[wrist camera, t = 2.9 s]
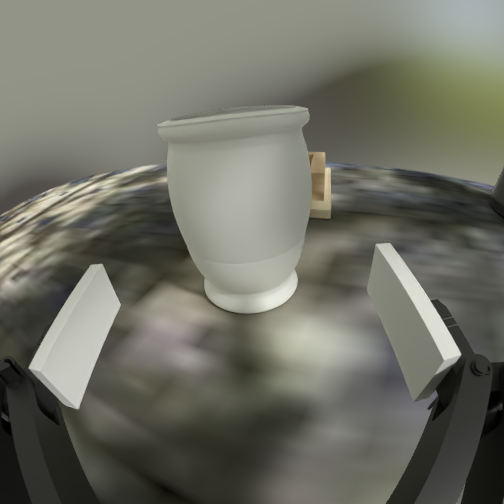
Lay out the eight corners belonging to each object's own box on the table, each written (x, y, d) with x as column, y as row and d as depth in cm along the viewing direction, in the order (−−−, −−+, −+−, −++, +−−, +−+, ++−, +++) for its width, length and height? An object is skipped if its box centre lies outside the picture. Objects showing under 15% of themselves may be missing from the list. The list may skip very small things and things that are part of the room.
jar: (171, 299, 24) (125, 130, 16) (233, 244, 31) (216, 108, 23) (277, 343, 19) (264, 115, 11) (324, 266, 26) (328, 105, 18)
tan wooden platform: (330, 173, 51) (329, 112, 44) (330, 218, 35) (332, 124, 28) (223, 172, 56) (216, 116, 50) (178, 213, 40) (162, 134, 34)
